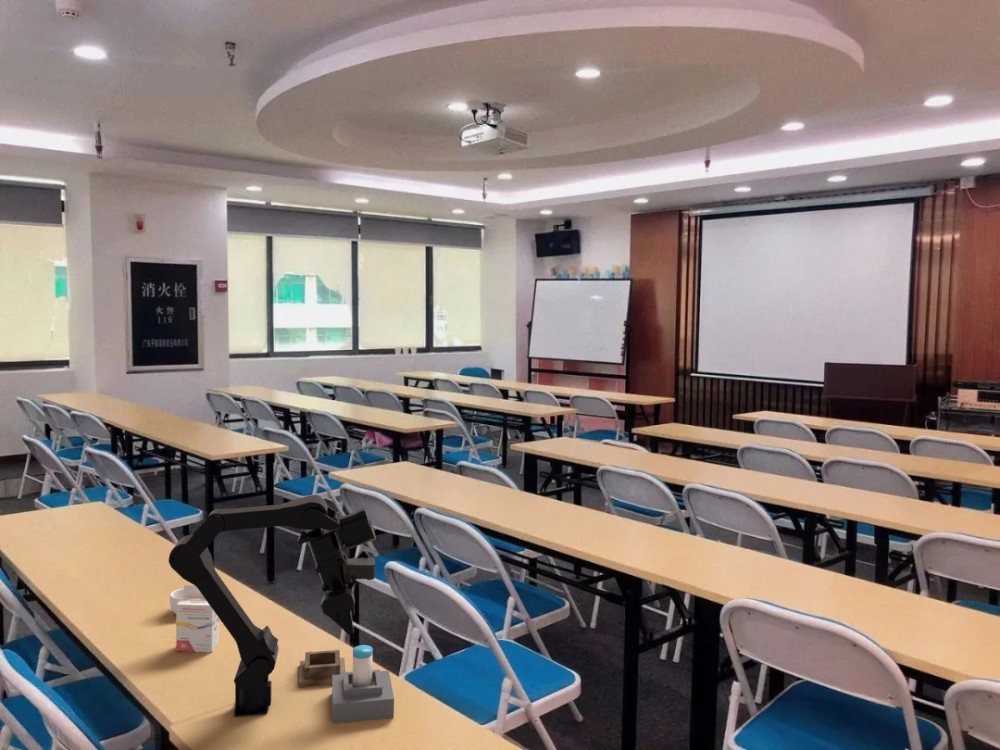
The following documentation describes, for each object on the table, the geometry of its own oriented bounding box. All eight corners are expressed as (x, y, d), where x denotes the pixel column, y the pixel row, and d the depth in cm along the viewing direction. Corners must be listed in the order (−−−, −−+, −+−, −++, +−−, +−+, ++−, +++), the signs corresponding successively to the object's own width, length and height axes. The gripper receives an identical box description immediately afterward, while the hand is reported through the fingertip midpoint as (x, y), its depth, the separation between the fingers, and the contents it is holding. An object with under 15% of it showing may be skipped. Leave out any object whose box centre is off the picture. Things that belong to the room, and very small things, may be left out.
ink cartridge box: (175, 652, 175) (174, 591, 174) (183, 643, 180) (183, 584, 179) (212, 653, 175) (212, 592, 174) (219, 643, 180) (219, 584, 179)
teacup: (207, 612, 198) (207, 592, 198) (180, 621, 192) (180, 601, 192) (187, 602, 204) (186, 583, 204) (160, 611, 198) (159, 591, 198)
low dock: (298, 686, 161) (298, 671, 161) (300, 665, 171) (300, 650, 170) (345, 682, 163) (345, 667, 163) (344, 661, 173) (344, 647, 173)
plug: (352, 692, 152) (353, 654, 151) (352, 682, 156) (352, 645, 155) (372, 690, 153) (373, 653, 152) (371, 681, 156) (371, 644, 156)
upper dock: (332, 723, 147) (333, 697, 147) (331, 693, 159) (332, 668, 158) (393, 717, 150) (394, 691, 150) (388, 688, 162) (389, 663, 161)
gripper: (366, 557, 144) (390, 629, 146) (366, 529, 163) (388, 594, 165) (309, 576, 143) (335, 650, 145) (316, 546, 161) (339, 612, 163)
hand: (352, 624), depth 154 cm, fingers open, 9 cm apart
